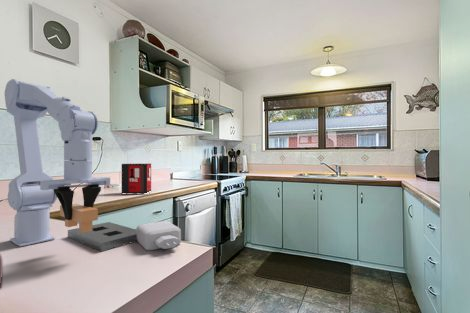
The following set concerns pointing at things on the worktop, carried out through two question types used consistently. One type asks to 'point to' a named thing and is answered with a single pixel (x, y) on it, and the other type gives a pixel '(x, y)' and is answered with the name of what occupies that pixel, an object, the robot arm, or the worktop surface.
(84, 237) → the gray rectangular slab
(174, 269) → the worktop surface
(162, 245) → the charger
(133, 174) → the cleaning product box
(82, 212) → the clip
